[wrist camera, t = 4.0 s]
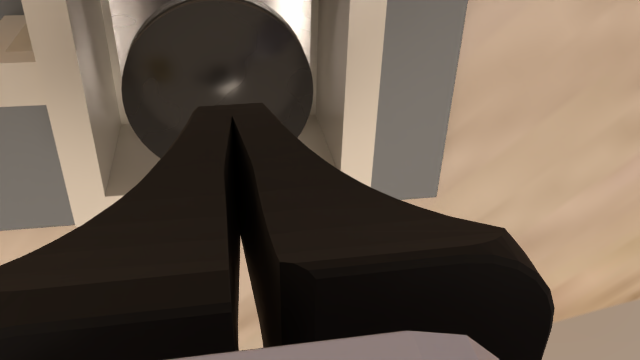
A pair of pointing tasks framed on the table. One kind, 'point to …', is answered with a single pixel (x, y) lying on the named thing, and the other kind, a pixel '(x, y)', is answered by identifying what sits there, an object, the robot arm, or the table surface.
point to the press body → (107, 106)
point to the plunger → (211, 61)
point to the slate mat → (390, 138)
